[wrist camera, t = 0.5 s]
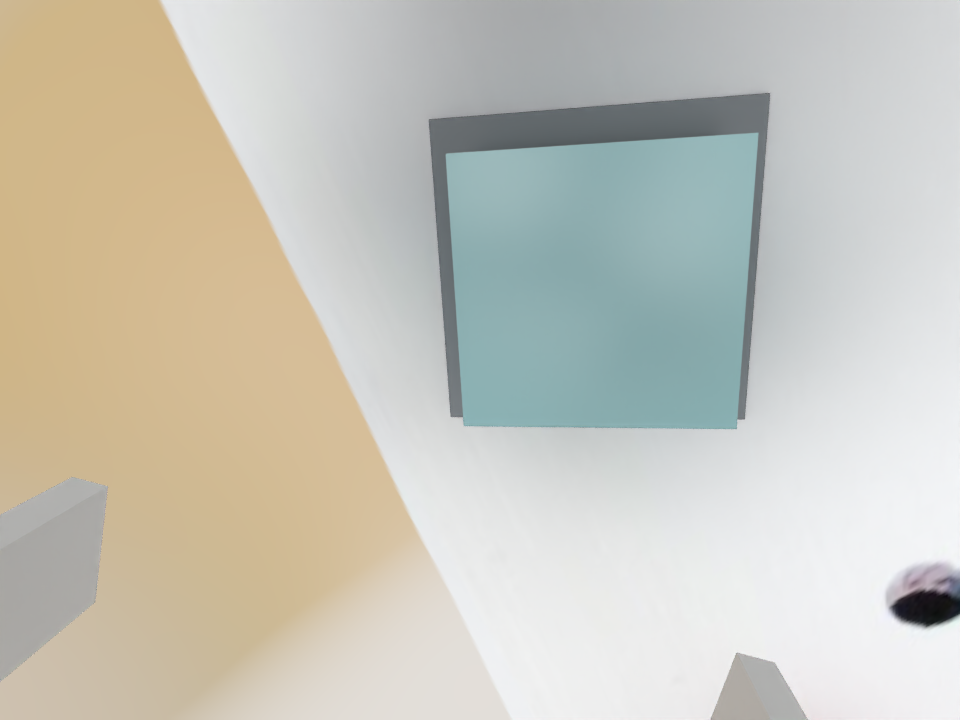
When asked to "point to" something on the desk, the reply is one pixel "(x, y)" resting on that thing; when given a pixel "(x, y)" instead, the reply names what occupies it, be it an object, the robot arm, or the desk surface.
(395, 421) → the desk surface
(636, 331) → the cover cap
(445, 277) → the rubber mat
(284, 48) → the desk surface
